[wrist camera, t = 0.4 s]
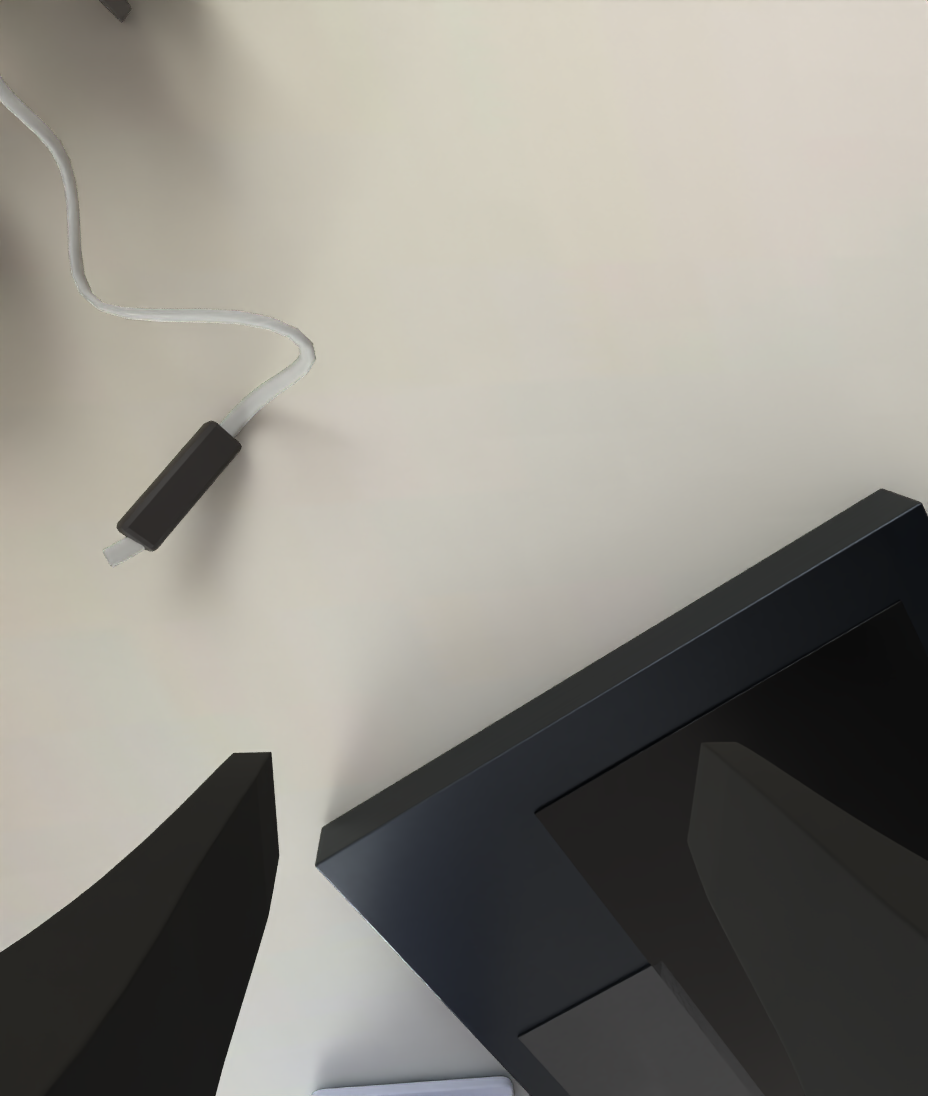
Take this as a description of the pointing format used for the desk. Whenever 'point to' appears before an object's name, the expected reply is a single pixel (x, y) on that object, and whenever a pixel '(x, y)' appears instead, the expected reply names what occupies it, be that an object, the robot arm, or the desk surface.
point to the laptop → (651, 819)
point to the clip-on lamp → (211, 441)
